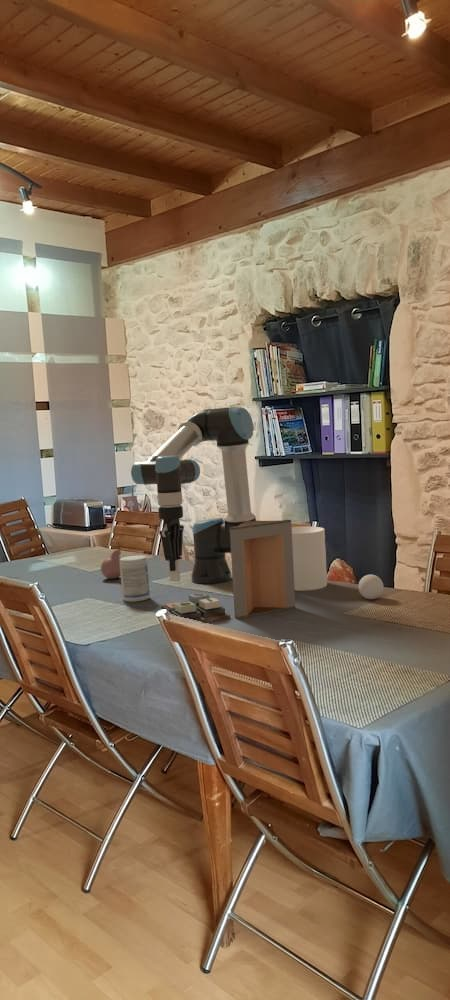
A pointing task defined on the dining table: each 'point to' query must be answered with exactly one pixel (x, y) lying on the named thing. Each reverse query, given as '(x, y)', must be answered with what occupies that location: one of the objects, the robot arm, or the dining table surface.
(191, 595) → the key slate
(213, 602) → the key cream
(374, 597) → the ball
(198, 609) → the keypad board
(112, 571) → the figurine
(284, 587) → the cabinet
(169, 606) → the key terracotta
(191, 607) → the key sage
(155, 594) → the dining table surface
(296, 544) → the canister
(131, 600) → the supplement tub
